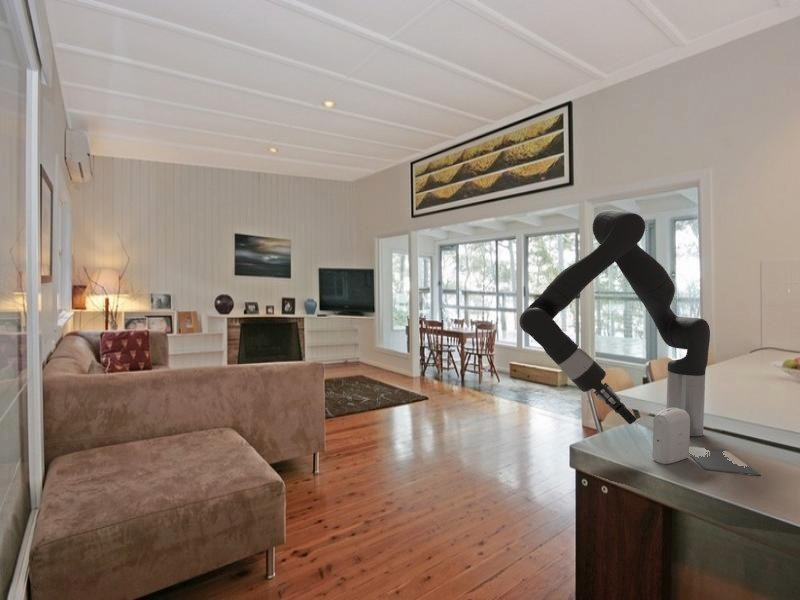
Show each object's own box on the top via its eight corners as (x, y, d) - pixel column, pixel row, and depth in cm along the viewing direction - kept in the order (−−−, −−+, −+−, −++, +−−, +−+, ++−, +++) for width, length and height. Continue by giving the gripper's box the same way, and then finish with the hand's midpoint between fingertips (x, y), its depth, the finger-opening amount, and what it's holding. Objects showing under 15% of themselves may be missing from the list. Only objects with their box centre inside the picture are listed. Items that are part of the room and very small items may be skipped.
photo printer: (667, 466, 102) (669, 413, 102) (649, 459, 106) (651, 408, 105) (691, 458, 107) (693, 408, 107) (673, 452, 111) (675, 404, 110)
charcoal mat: (679, 446, 116) (679, 444, 116) (726, 450, 113) (727, 449, 113) (704, 469, 100) (704, 468, 100) (760, 475, 97) (760, 474, 97)
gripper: (597, 363, 104) (653, 419, 101) (588, 355, 117) (638, 404, 114) (572, 383, 106) (627, 439, 103) (566, 373, 118) (615, 423, 116)
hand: (632, 421), depth 108 cm, fingers closed
